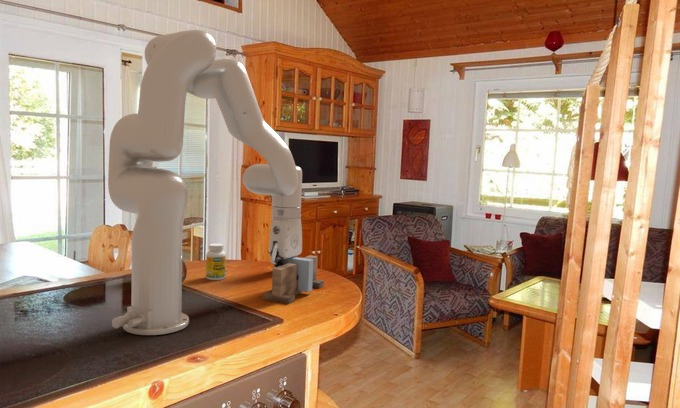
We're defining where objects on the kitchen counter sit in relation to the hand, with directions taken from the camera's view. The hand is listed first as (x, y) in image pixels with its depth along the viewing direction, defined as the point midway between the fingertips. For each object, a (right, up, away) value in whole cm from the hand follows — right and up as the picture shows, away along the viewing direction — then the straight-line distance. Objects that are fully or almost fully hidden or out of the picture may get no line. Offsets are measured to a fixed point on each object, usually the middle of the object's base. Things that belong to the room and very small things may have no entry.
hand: (283, 282), depth 133 cm
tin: (-33, -1, +1) cm, 33 cm away
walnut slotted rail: (+3, -2, -1) cm, 4 cm away
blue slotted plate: (+3, -1, -1) cm, 3 cm away
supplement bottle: (-20, -1, +10) cm, 23 cm away
